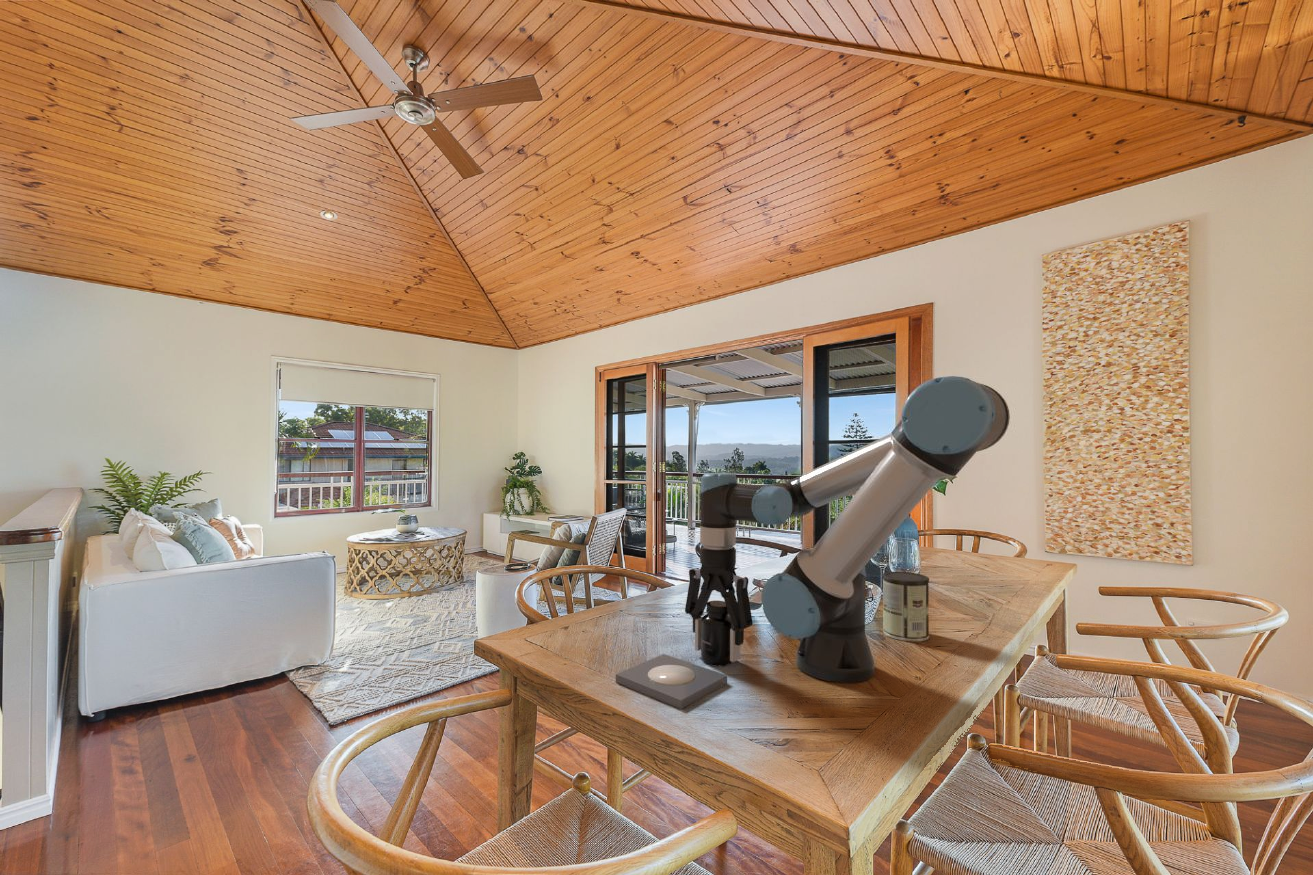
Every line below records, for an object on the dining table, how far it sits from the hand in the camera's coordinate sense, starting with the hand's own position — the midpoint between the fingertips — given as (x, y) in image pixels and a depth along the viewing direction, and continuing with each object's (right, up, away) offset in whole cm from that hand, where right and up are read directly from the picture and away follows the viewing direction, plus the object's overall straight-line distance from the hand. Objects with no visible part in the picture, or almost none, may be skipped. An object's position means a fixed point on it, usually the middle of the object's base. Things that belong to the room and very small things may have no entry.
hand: (717, 653), depth 118 cm
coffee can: (+47, -2, +17) cm, 50 cm away
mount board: (-10, -1, -11) cm, 15 cm away
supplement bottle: (0, -2, 0) cm, 2 cm away
